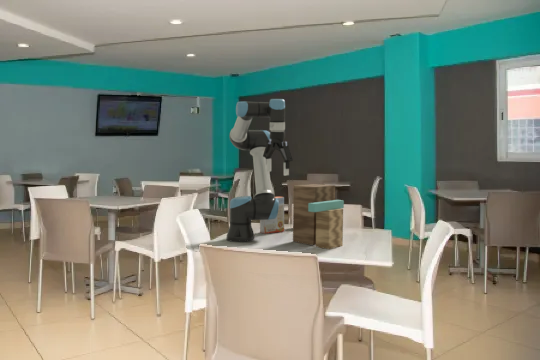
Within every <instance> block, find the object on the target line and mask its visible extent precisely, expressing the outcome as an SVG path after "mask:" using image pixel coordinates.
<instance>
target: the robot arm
mask: <svg viewBox="0 0 540 360" xmlns="http://www.w3.org/2000/svg"><path fill="white" fill-rule="evenodd" d="M235 114H236V117H237V118H236V120H235V123H234V126H233V128H231V130H230V132H229V137H228V138H229V141H230V142H231V143H232V145H233V146H234V147H235V148H236V149H239V150H242V151H249V154H250V156H252V159H253V160H252V161H253V172H254V183H255V185H254V186H255V194H254V196H253V198H252V196H251V195H244V196H237V197H236V196H235V197H233V198H231V199H230V201H229V227H228V229H227V230H228V231H227V233H226V241H229V242H234V243H235V242H236V243H237V242H240V243H241V242H242V243H244V242H246V243H247V242H252V241H255V233H254V230H253V227H252V221H260V220H270V219H275V218H276V217H277V214H278V209H279V200H278V198H275V197H276V196H275V193H273V192H272V183H271V175H270V172H272V156H273V154H274V153H275V151H278V152H279V153H280V156H281V157H282V159H283V176H290V163H291V162H293V156H292V153H291V150H290V146H289V141H284V140H285V138H286V131H285V130H286V101H285V99H283V98H270V99H269V102H268V101H266V102H265V101H246V100H244V101H237V102H236V106H235ZM253 118H269V130H263V129H260V130H259V129H255V130H254V129H250V128H249V127H250V125H251V123H252V120H253Z"/></svg>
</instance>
